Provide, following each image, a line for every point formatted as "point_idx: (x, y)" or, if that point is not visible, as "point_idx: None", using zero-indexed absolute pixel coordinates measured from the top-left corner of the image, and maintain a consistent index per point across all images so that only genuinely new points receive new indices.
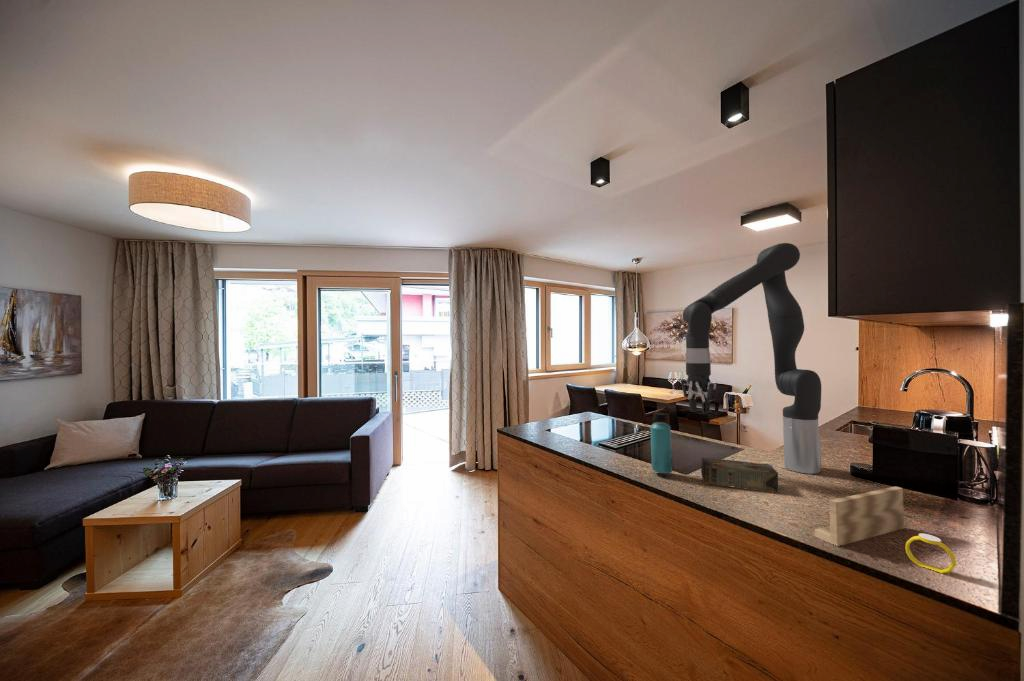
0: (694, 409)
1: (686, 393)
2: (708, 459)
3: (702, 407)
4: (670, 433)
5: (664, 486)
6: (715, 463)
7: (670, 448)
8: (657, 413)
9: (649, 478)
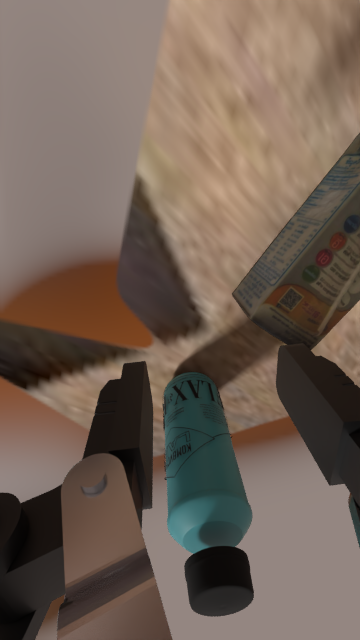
0: (147, 385)
1: (32, 636)
2: (283, 319)
3: (303, 430)
4: (238, 480)
5: (254, 414)
6: (323, 326)
7: (229, 435)
8: (222, 612)
9: None
